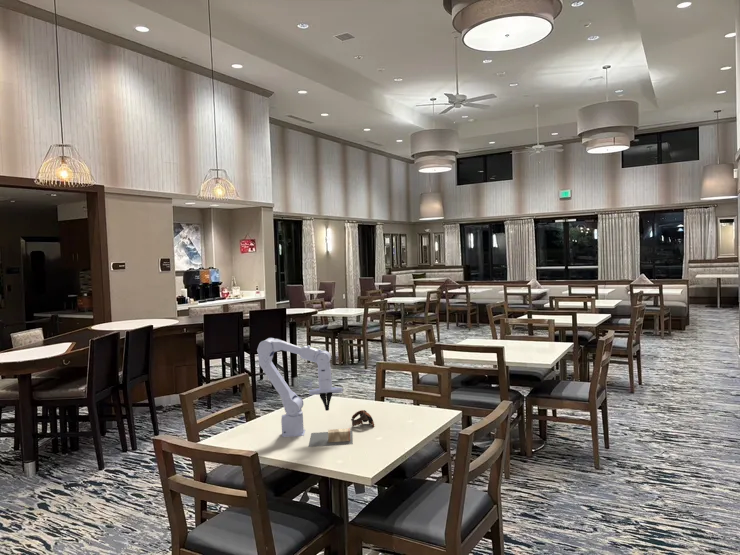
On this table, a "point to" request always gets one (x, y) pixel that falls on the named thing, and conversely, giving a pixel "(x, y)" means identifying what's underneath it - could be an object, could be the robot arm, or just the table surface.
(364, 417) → the brown curved piece
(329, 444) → the charcoal mat
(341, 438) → the maple block
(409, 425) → the table surface
